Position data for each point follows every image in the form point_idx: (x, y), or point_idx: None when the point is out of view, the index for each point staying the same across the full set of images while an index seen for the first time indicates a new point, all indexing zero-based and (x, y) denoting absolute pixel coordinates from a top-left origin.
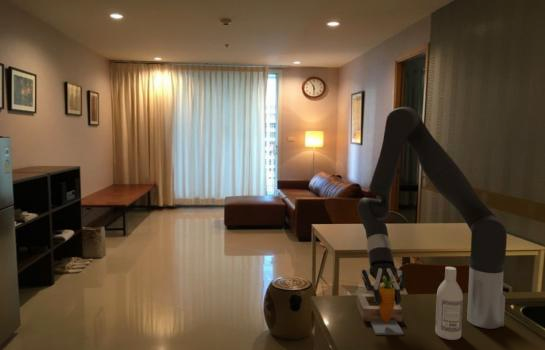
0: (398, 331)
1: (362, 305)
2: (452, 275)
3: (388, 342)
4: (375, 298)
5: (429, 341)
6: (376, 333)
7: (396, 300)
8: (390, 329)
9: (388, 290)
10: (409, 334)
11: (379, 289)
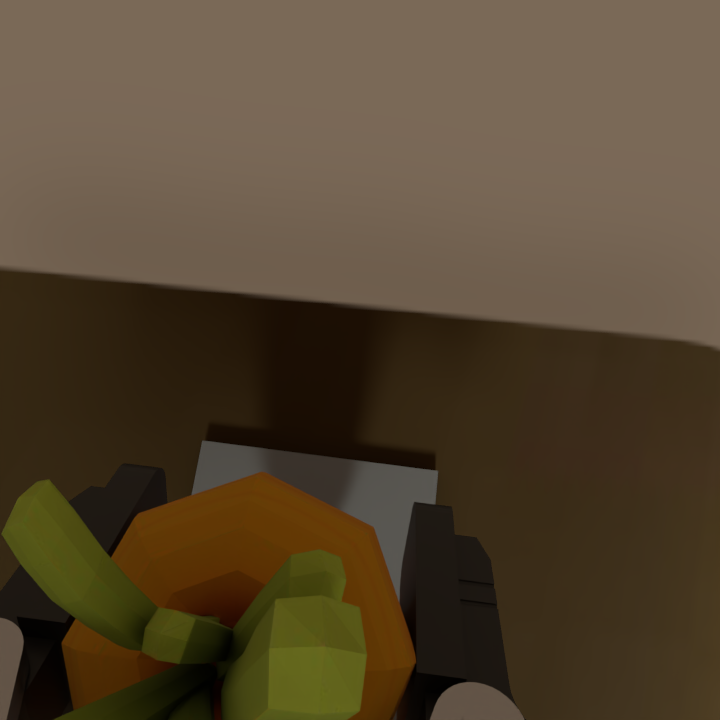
0: (232, 474)
1: None
2: None
3: (374, 348)
4: (484, 569)
5: (56, 328)
6: (431, 472)
7: (149, 508)
8: None
9: (254, 519)
10: (151, 449)
11: (406, 667)
